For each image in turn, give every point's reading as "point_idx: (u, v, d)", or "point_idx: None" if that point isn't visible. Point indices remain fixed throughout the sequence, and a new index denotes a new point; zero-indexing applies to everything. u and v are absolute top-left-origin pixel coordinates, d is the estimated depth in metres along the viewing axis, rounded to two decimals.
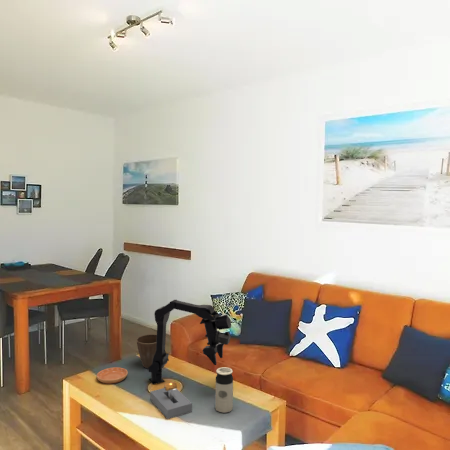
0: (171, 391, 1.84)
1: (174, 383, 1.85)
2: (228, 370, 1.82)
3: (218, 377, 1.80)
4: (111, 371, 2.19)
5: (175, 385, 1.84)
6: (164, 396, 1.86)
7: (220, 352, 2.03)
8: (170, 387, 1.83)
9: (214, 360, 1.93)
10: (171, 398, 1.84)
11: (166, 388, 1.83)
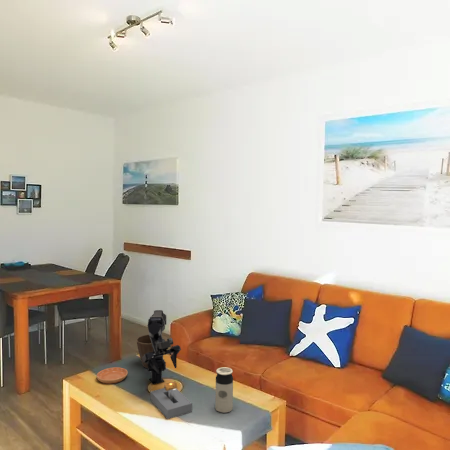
0: (171, 391, 1.84)
1: (174, 383, 1.85)
2: (228, 370, 1.82)
3: (218, 377, 1.80)
4: (111, 371, 2.19)
5: (175, 385, 1.84)
6: (164, 396, 1.86)
7: (174, 362, 1.95)
8: (170, 387, 1.83)
9: (155, 368, 1.89)
10: (171, 398, 1.84)
11: (166, 388, 1.83)
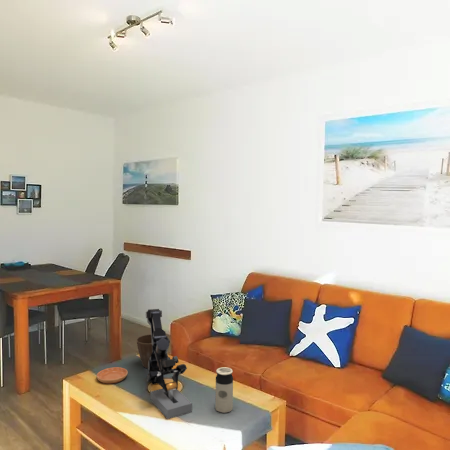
0: (171, 391, 1.84)
1: (174, 383, 1.85)
2: (228, 370, 1.82)
3: (218, 377, 1.80)
4: (111, 371, 2.19)
5: (175, 385, 1.84)
6: (164, 396, 1.86)
7: None
8: (170, 387, 1.83)
9: (163, 386, 1.83)
10: (171, 398, 1.84)
11: None
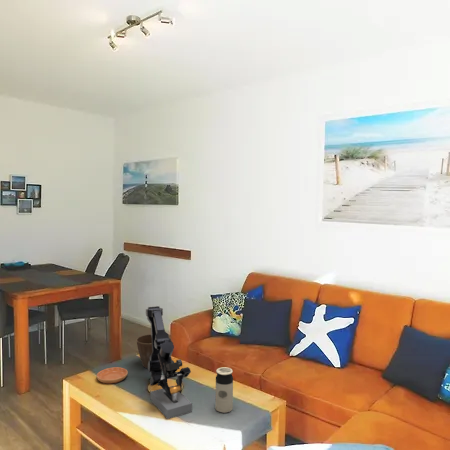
0: (175, 395, 1.81)
1: (178, 387, 1.81)
2: (228, 370, 1.82)
3: (218, 377, 1.80)
4: (111, 371, 2.19)
5: (179, 389, 1.81)
6: (164, 396, 1.86)
7: None
8: (173, 390, 1.79)
9: (167, 390, 1.79)
10: (175, 402, 1.81)
11: None
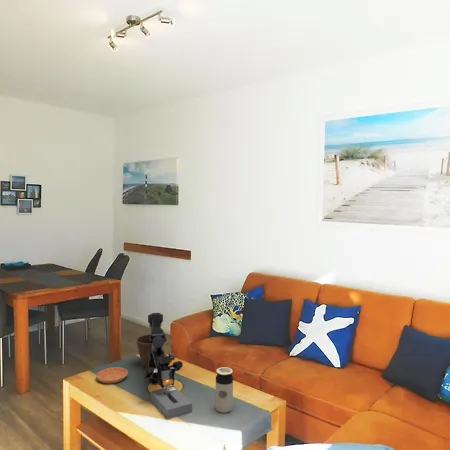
0: (167, 387, 1.88)
1: (170, 380, 1.88)
2: (228, 370, 1.82)
3: (218, 377, 1.80)
4: (112, 371, 2.19)
5: (171, 382, 1.88)
6: (164, 396, 1.86)
7: None
8: (166, 383, 1.86)
9: (160, 382, 1.86)
10: (167, 394, 1.88)
11: None
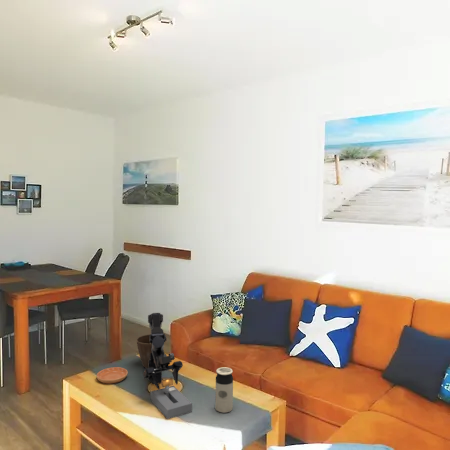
0: (167, 387, 1.88)
1: (170, 380, 1.88)
2: (228, 370, 1.82)
3: (218, 377, 1.80)
4: (112, 371, 2.19)
5: (171, 382, 1.88)
6: (164, 396, 1.86)
7: (175, 378, 1.91)
8: (166, 383, 1.86)
9: (155, 383, 1.85)
10: (167, 394, 1.88)
11: (163, 385, 1.86)
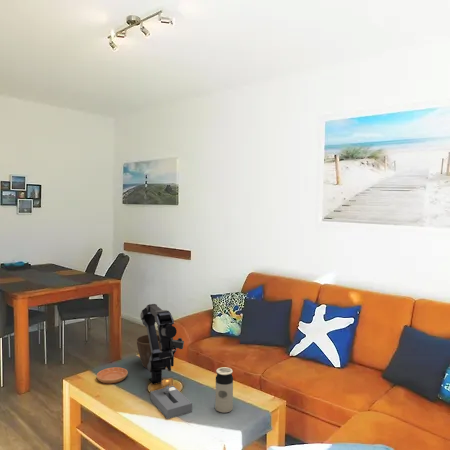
0: (167, 387, 1.88)
1: (170, 380, 1.88)
2: (228, 370, 1.82)
3: (218, 377, 1.80)
4: (112, 371, 2.19)
5: (171, 382, 1.88)
6: (164, 396, 1.86)
7: (171, 360, 2.01)
8: (166, 383, 1.86)
9: (169, 365, 1.91)
10: (167, 394, 1.88)
11: (163, 385, 1.86)
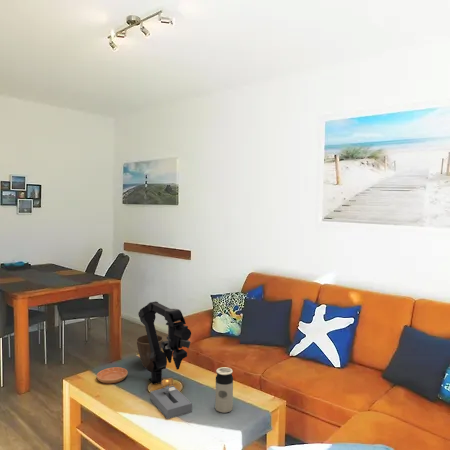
0: (167, 387, 1.88)
1: (170, 380, 1.88)
2: (228, 370, 1.82)
3: (218, 377, 1.80)
4: (112, 371, 2.19)
5: (171, 382, 1.88)
6: (164, 396, 1.86)
7: (170, 357, 2.02)
8: (166, 383, 1.86)
9: (179, 364, 1.94)
10: (167, 394, 1.88)
11: (163, 385, 1.86)
